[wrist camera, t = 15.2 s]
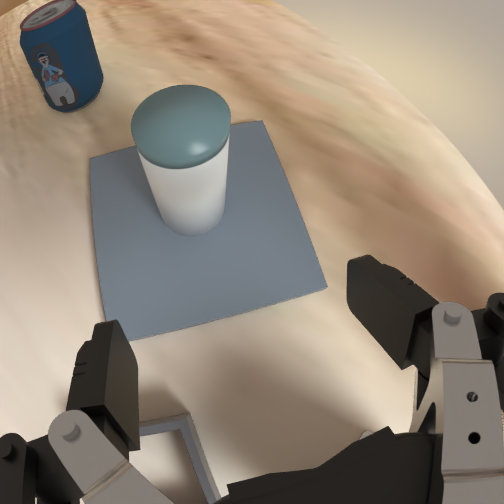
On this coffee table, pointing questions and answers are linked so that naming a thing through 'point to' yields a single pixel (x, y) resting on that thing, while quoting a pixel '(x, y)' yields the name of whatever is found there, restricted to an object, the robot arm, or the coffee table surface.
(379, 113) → the coffee table surface
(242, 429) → the coffee table surface
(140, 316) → the slate board
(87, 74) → the soda can
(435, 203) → the coffee table surface
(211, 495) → the sleeve
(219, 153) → the ball
